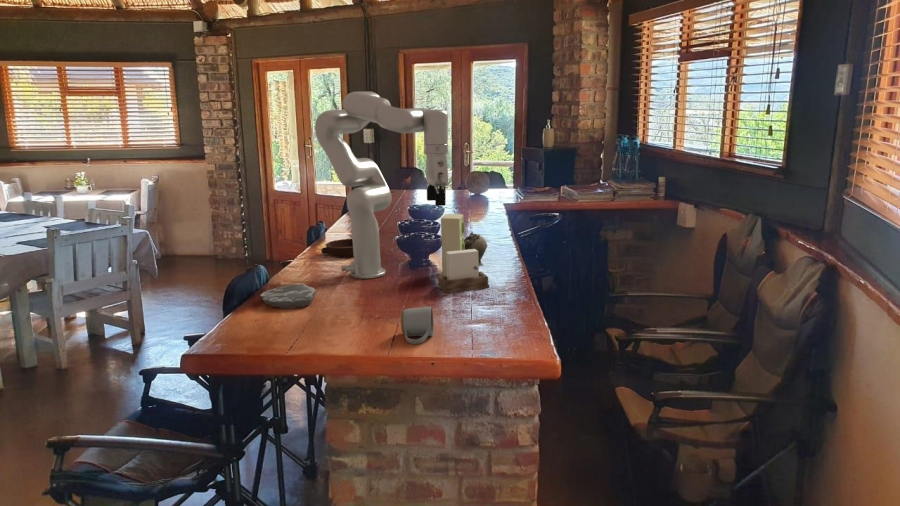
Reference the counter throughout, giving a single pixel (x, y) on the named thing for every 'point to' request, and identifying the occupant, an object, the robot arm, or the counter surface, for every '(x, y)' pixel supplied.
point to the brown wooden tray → (463, 283)
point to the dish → (339, 248)
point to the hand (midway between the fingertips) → (436, 202)
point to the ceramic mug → (417, 323)
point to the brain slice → (289, 296)
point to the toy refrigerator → (451, 236)
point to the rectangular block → (462, 264)
